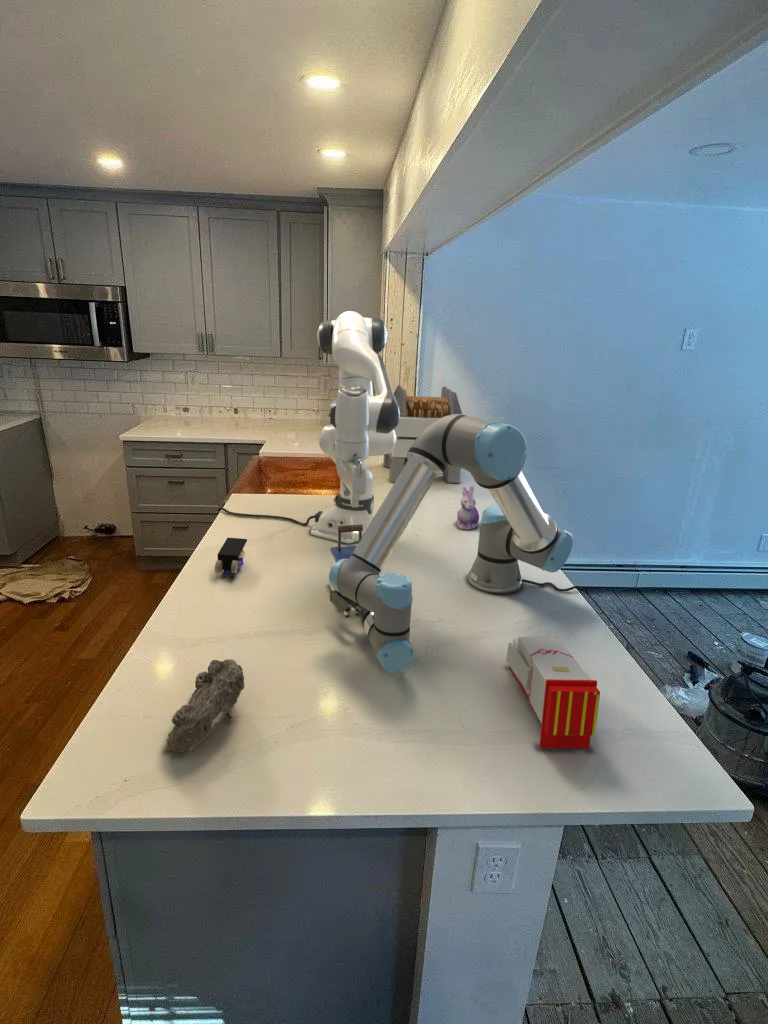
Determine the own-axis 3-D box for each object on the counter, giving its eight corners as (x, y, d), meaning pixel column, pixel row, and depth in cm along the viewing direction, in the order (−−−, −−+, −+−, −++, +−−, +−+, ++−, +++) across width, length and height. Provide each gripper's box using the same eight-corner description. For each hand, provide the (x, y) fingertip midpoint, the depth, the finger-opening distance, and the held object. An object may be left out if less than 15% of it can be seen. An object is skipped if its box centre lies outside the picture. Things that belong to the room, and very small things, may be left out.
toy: (554, 620, 129) (609, 687, 99) (549, 674, 131) (601, 755, 102) (501, 619, 128) (541, 686, 99) (497, 673, 131) (534, 754, 102)
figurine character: (238, 584, 162) (249, 557, 175) (236, 562, 158) (247, 536, 172) (215, 584, 161) (227, 556, 175) (212, 561, 158) (225, 535, 171)
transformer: (382, 463, 289) (386, 382, 275) (445, 464, 293) (451, 384, 279) (390, 482, 257) (394, 392, 243) (460, 483, 261) (468, 394, 247)
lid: (330, 550, 158) (330, 523, 155) (364, 548, 160) (365, 520, 157) (341, 573, 144) (341, 544, 141) (378, 570, 147) (379, 541, 144)
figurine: (464, 532, 204) (468, 492, 199) (449, 522, 212) (452, 484, 207) (486, 528, 208) (490, 489, 203) (469, 519, 216) (473, 481, 211)
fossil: (192, 660, 117) (244, 628, 112) (224, 691, 120) (276, 661, 115) (142, 746, 98) (202, 712, 93) (182, 779, 101) (242, 748, 96)
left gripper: (373, 460, 138) (371, 513, 143) (354, 441, 157) (353, 488, 161) (348, 461, 137) (347, 514, 141) (332, 441, 155) (331, 489, 160)
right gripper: (330, 642, 128) (314, 595, 148) (424, 631, 134) (396, 587, 154) (330, 613, 125) (314, 569, 145) (426, 603, 131) (397, 562, 151)
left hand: (350, 500), depth 151 cm, fingers open, 8 cm apart
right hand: (356, 579), depth 150 cm, fingers closed on chest, 10 cm apart
